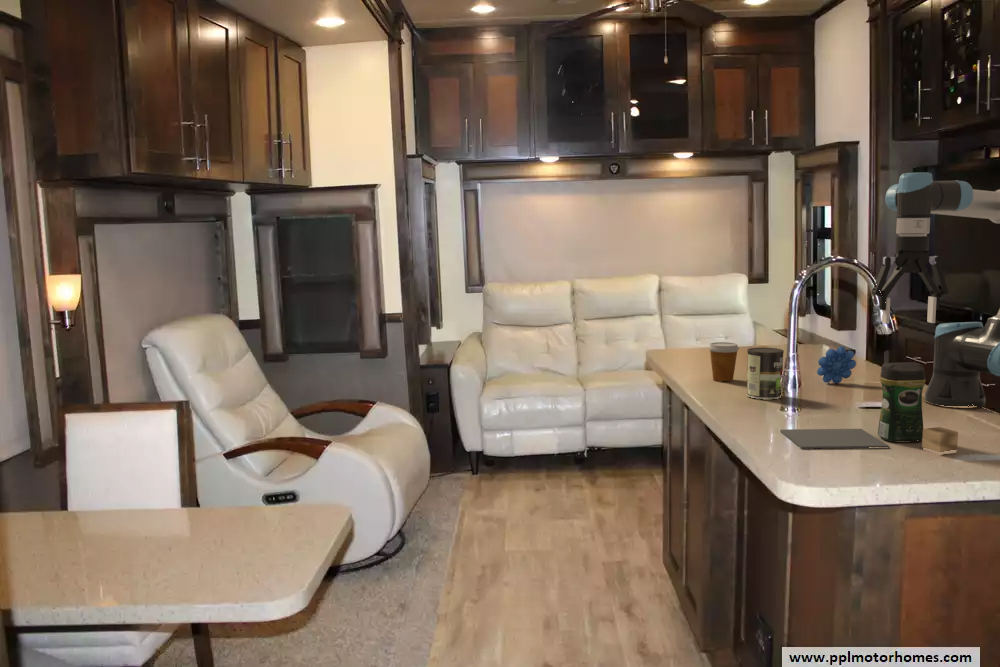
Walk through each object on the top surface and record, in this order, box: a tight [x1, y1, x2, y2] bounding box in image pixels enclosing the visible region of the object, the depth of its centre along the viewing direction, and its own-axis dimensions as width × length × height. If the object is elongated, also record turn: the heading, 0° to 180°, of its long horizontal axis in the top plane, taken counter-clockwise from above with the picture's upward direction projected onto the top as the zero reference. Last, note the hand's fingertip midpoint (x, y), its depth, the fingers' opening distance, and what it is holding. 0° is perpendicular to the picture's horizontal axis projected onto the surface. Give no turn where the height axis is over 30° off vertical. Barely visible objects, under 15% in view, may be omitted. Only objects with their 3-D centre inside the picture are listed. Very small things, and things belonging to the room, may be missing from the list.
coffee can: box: [746, 347, 784, 401], centre depth 254 cm, size 10×10×14 cm
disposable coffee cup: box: [708, 341, 739, 382], centre depth 280 cm, size 10×10×12 cm
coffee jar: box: [877, 362, 927, 442], centre depth 203 cm, size 10×8×19 cm
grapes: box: [816, 346, 857, 384], centre depth 272 cm, size 12×7×12 cm, turn 78°
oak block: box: [921, 426, 959, 452], centre depth 193 cm, size 5×5×5 cm
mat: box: [780, 428, 890, 450], centre depth 205 cm, size 20×16×1 cm
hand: (908, 322), depth 217 cm, fingers open, 11 cm apart
